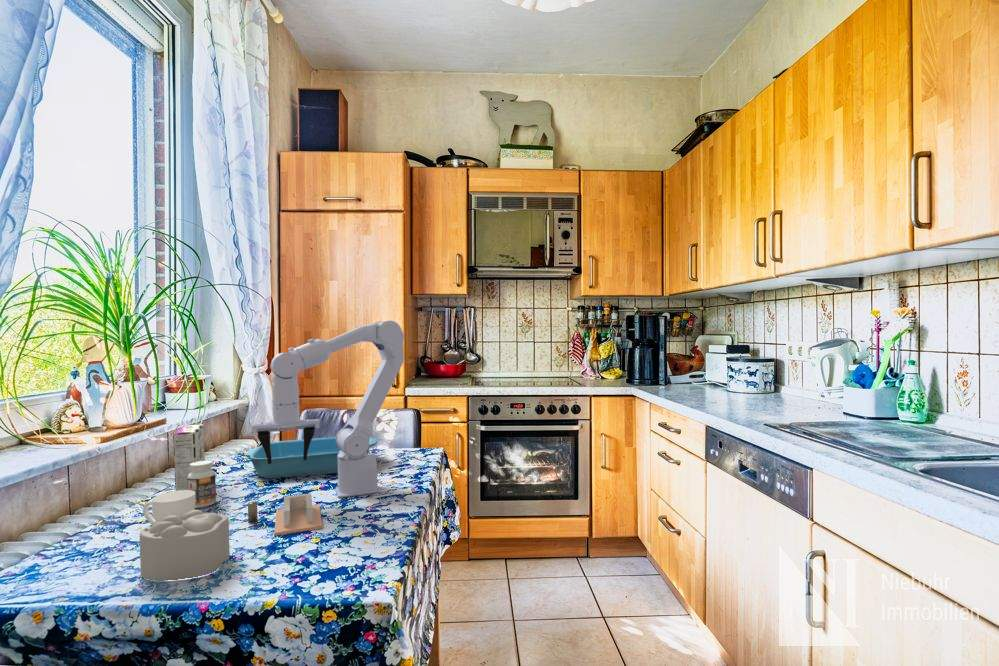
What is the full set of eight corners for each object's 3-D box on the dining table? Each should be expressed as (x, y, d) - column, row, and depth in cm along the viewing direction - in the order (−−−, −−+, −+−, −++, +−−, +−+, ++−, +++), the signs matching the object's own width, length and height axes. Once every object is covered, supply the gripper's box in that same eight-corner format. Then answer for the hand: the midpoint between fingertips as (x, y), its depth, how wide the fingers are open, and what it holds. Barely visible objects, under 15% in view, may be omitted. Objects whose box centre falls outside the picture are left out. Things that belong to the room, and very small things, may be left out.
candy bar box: (184, 487, 135) (183, 425, 135) (206, 484, 137) (204, 423, 137) (173, 500, 125) (172, 433, 125) (197, 497, 127) (195, 431, 126)
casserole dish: (236, 485, 137) (236, 458, 137) (255, 464, 158) (254, 441, 158) (378, 473, 146) (377, 448, 145) (377, 454, 167) (377, 432, 167)
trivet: (319, 506, 118) (318, 504, 118) (322, 528, 105) (322, 525, 105) (276, 512, 114) (276, 510, 114) (274, 535, 101) (274, 532, 101)
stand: (257, 519, 111) (257, 500, 111) (257, 522, 109) (256, 503, 109) (248, 520, 110) (248, 502, 110) (248, 523, 108) (247, 504, 108)
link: (311, 507, 116) (311, 493, 116) (313, 522, 106) (312, 507, 106) (284, 511, 114) (284, 496, 114) (283, 527, 104) (283, 511, 104)
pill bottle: (203, 509, 118) (202, 466, 118) (182, 508, 119) (180, 465, 119) (221, 501, 123) (220, 460, 123) (201, 500, 125) (199, 459, 124)
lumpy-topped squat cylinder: (211, 578, 84) (209, 526, 84) (125, 585, 83) (123, 532, 83) (235, 551, 95) (233, 505, 95) (159, 557, 93) (157, 509, 93)
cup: (184, 534, 103) (183, 501, 103) (132, 537, 102) (131, 503, 102) (203, 520, 111) (202, 489, 111) (155, 522, 110) (154, 491, 110)
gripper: (250, 408, 114) (252, 469, 114) (319, 403, 120) (320, 461, 120) (252, 404, 121) (254, 461, 121) (318, 399, 126) (319, 454, 126)
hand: (287, 461), depth 121 cm, fingers open, 7 cm apart
